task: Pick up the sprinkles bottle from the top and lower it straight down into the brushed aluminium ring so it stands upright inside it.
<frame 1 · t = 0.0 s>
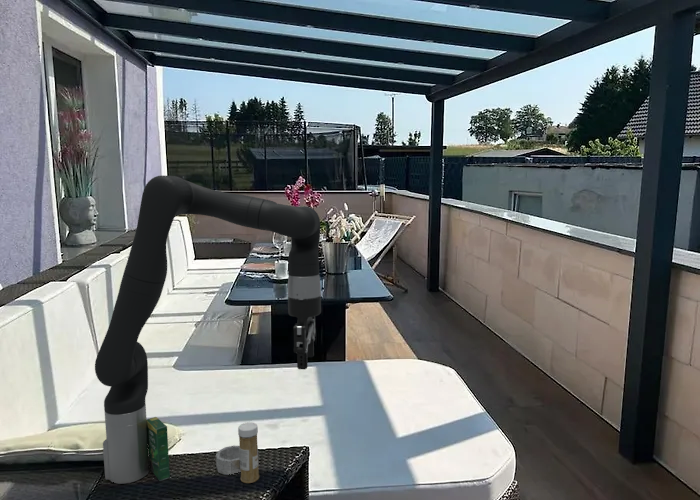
hand: (305, 362, 120), 29 cm above the table, tool pointing down, fingers open, 8 cm apart
aluminium ring: (232, 466, 130), on the table
coffee box: (159, 473, 128), on the table
sprinkles bottle: (249, 479, 124), on the table
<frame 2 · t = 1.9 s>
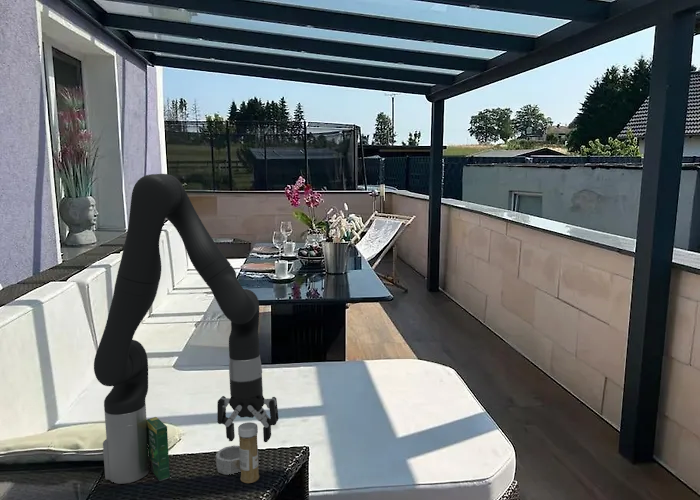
hand: (249, 440, 123), 10 cm above the table, tool pointing down, fingers open, 8 cm apart
coffee box: (159, 473, 128), on the table, touching arm
everything else where it was.
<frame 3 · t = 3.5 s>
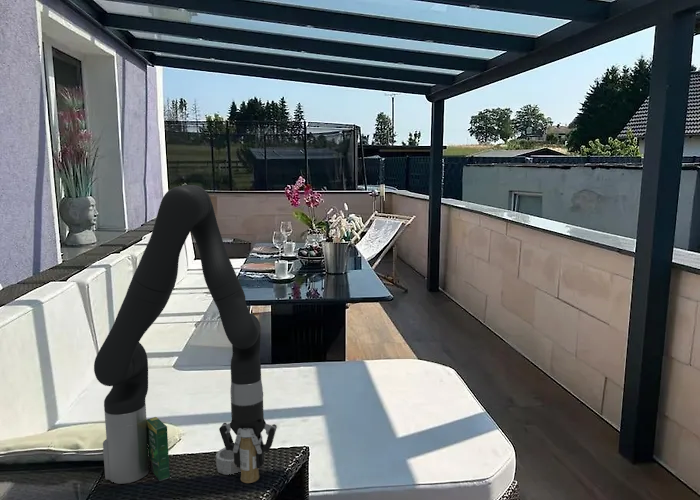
hand: (249, 465, 124), 3 cm above the table, tool pointing down, fingers closed on sprinkles bottle, 4 cm apart
sprinkles bottle: (249, 479, 124), on the table, touching gripper
everything else where it was.
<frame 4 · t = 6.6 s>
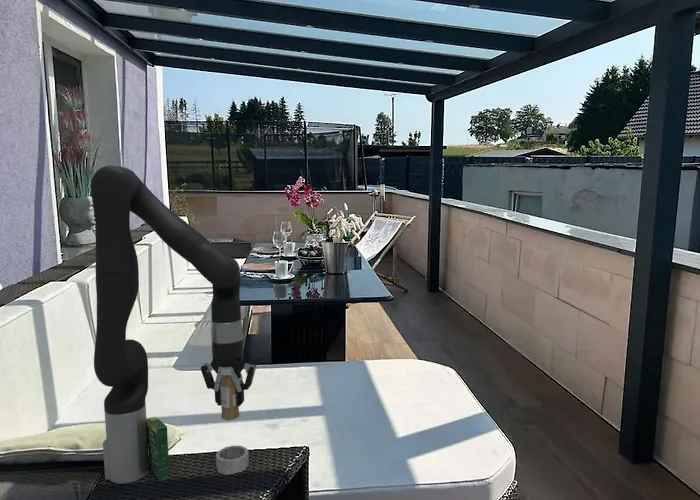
hand: (230, 404, 128), 16 cm above the table, tool pointing down, fingers closed on sprinkles bottle, 4 cm apart
sprinkles bottle: (230, 417, 129), point 13 cm above the table, touching gripper
everything else where it was.
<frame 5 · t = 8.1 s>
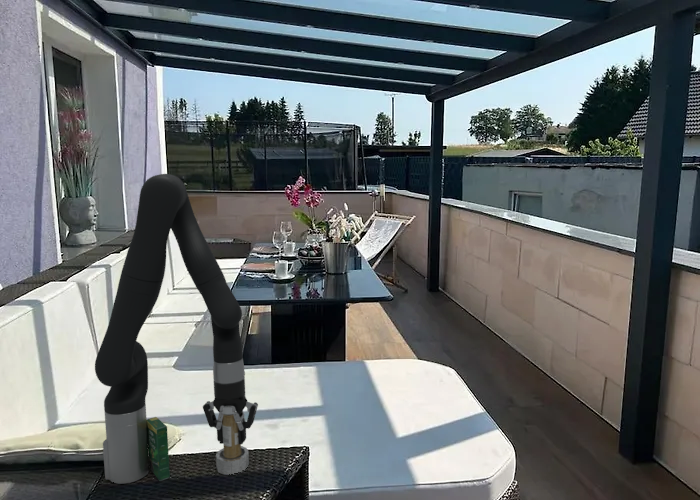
hand: (232, 442, 129), 6 cm above the table, tool pointing down, fingers closed on sprinkles bottle, 4 cm apart
sprinkles bottle: (232, 455, 130), point 3 cm above the table, touching gripper
everything else where it was.
when the fingers open (5 cm above the table, at t = 9.6 s): sprinkles bottle drops 2 cm, resting in aluminium ring.
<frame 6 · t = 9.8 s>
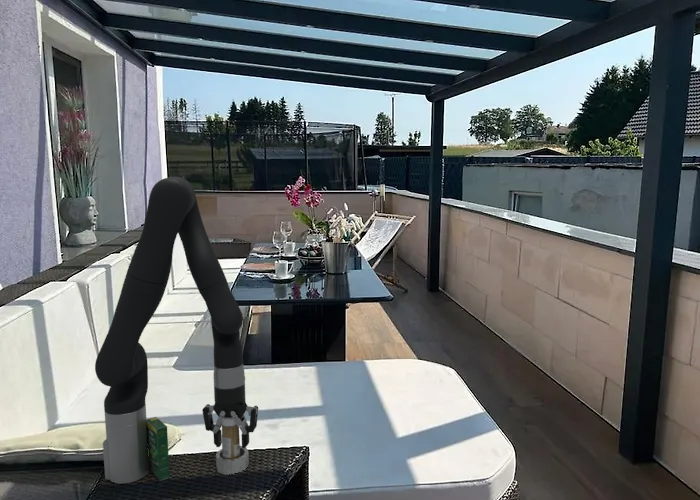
hand: (231, 446, 130), 5 cm above the table, tool pointing down, fingers open, 6 cm apart
coffee box: (159, 473, 128), on the table
sprinkles bottle: (231, 467, 130), resting in aluminium ring
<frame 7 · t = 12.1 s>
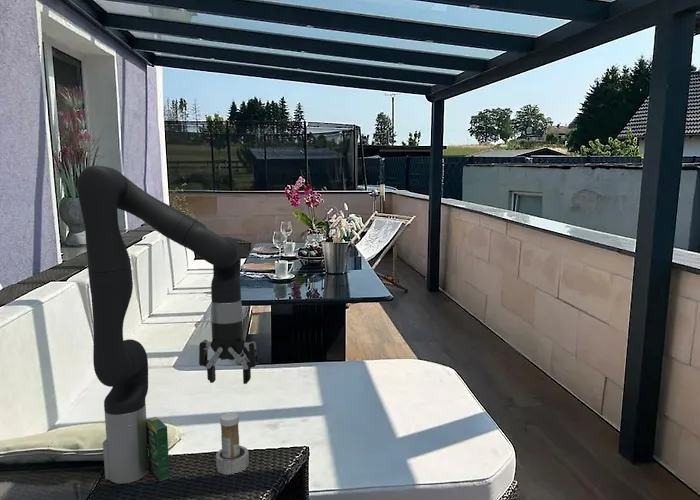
hand: (229, 382, 128), 22 cm above the table, tool pointing down, fingers open, 8 cm apart
nothing on the table moved.
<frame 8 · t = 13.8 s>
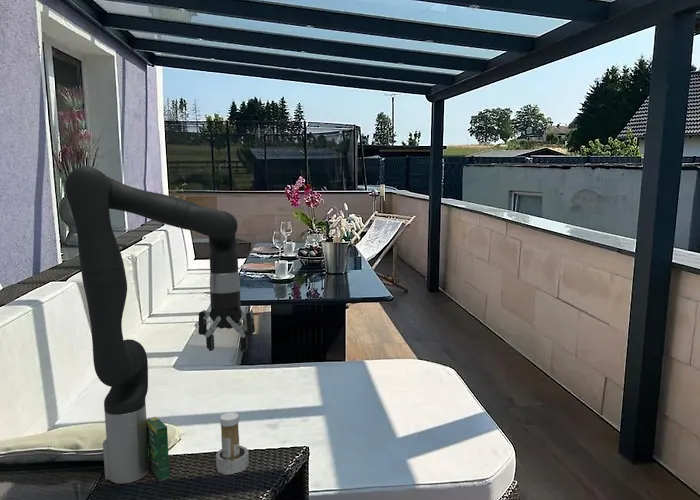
hand: (227, 350, 134), 28 cm above the table, tool pointing down, fingers open, 8 cm apart
coffee box: (159, 473, 128), on the table, touching arm
everything else where it was.
at the end: sprinkles bottle 0.3 cm off-centre on the aluminium ring, point 0.0 cm above the aluminium ring's base; sprinkles bottle tilted 0°; the gripper is holding nothing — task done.
